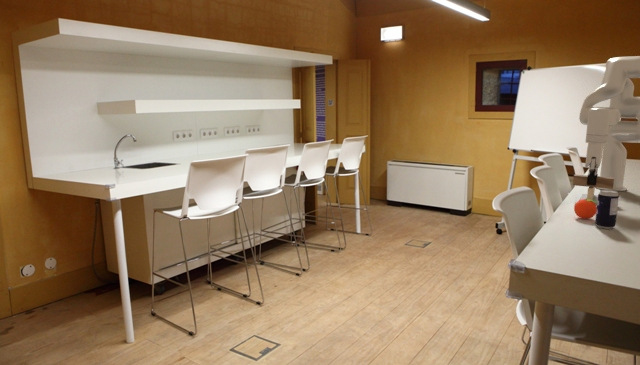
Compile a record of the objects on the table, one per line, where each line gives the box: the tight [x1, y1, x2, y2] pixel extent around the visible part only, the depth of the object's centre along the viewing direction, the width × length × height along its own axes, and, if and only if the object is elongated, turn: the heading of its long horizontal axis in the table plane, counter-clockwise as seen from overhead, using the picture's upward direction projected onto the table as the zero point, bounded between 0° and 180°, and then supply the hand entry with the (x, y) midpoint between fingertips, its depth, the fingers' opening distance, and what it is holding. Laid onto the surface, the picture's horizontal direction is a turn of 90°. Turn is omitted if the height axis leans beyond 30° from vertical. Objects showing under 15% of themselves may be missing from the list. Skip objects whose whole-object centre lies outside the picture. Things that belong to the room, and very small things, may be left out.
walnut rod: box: [572, 174, 614, 189], centre depth 187 cm, size 4×14×4 cm, turn 56°
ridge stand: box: [578, 187, 598, 207], centre depth 190 cm, size 18×7×6 cm, turn 146°
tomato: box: [573, 199, 597, 220], centre depth 161 cm, size 8×7×7 cm
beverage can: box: [594, 189, 620, 230], centre depth 149 cm, size 6×6×12 cm
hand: (591, 183), depth 187 cm, fingers closed on walnut rod, 4 cm apart
